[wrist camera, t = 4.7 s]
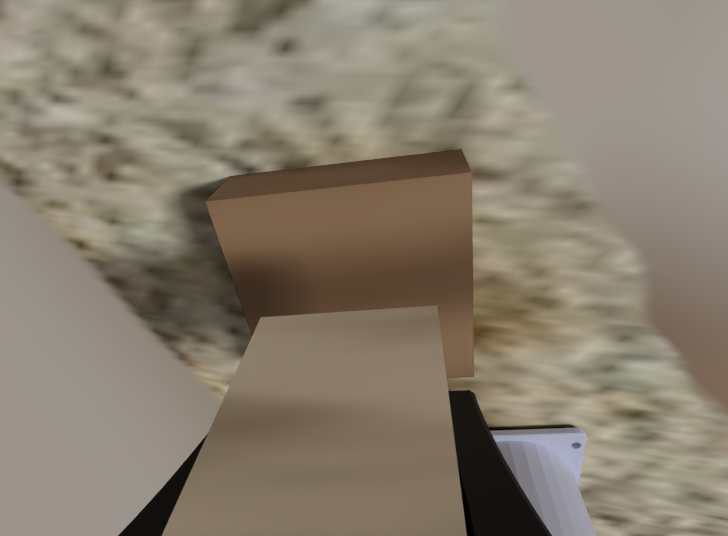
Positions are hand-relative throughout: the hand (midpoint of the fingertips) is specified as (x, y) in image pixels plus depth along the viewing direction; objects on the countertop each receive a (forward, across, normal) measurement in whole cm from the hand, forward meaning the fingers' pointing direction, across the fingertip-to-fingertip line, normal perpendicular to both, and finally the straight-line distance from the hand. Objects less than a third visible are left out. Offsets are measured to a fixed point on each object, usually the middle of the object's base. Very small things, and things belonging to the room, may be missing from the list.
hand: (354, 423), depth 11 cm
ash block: (+2, 0, 0) cm, 2 cm away
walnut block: (+9, +1, +1) cm, 9 cm away
